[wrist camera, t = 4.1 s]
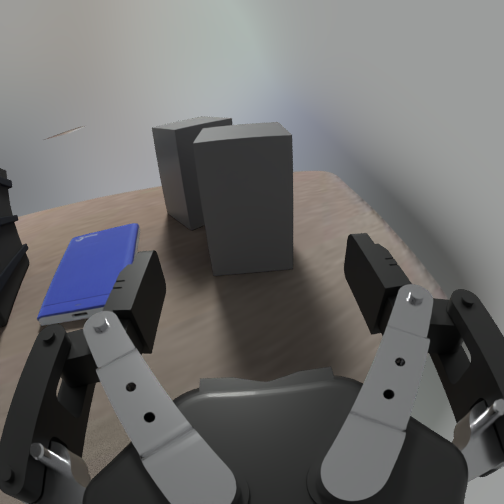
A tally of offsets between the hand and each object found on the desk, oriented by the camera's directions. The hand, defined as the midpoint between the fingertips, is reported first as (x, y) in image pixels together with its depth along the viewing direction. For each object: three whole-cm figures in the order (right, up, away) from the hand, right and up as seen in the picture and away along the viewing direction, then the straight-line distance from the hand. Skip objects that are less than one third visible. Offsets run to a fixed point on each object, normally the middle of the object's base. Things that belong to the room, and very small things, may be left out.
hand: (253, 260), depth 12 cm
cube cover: (0, 0, +13) cm, 13 cm away
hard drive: (-14, -2, +12) cm, 19 cm away
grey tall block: (-5, +5, +20) cm, 21 cm away
